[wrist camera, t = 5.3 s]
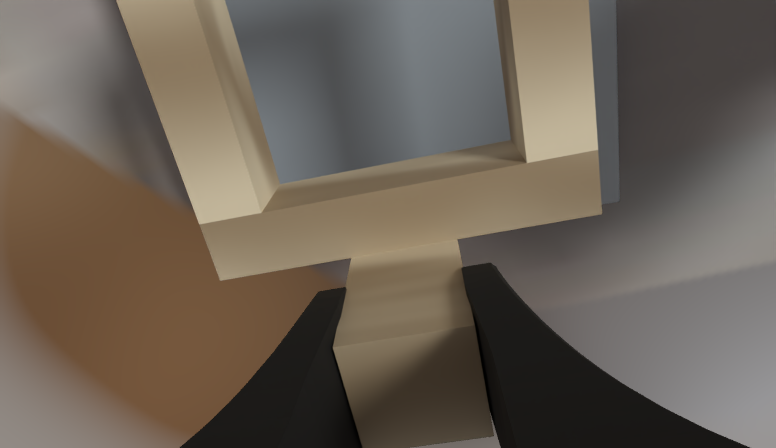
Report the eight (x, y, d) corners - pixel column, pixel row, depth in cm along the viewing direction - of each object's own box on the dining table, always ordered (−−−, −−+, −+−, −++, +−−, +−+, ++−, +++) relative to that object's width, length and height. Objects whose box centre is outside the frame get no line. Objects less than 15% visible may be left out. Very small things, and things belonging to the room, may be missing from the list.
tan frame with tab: (583, 269, 15) (673, 411, 10) (269, 321, 16) (205, 474, 11) (541, -247, 11) (664, -462, 6) (114, -132, 12) (-114, -227, 7)
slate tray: (584, -304, 15) (610, -337, 13) (601, 179, 21) (619, 201, 20) (93, -168, 16) (56, -181, 15) (248, 243, 23) (236, 268, 21)
